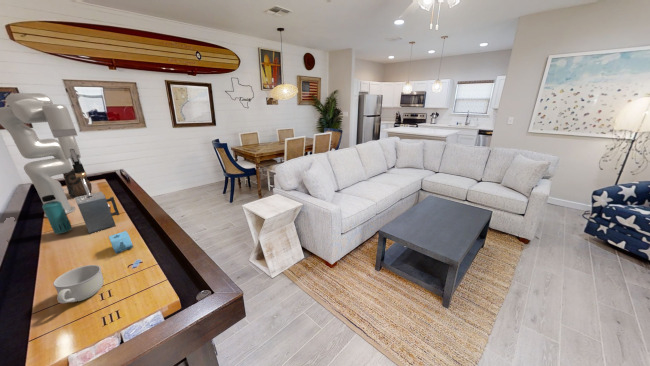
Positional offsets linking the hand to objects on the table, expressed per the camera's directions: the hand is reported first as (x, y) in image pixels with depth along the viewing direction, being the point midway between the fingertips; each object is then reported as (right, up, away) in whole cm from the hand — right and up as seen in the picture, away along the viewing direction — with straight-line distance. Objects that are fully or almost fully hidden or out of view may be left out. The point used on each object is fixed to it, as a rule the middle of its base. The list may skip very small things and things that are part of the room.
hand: (80, 172), depth 112 cm
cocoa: (-12, -23, +25) cm, 36 cm away
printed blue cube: (+29, -34, -10) cm, 46 cm away
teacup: (+37, -43, -35) cm, 66 cm away
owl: (-57, -14, +55) cm, 80 cm away
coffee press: (+2, -27, +11) cm, 30 cm away
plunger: (0, -17, +6) cm, 18 cm away
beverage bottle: (-13, -30, +5) cm, 33 cm away
